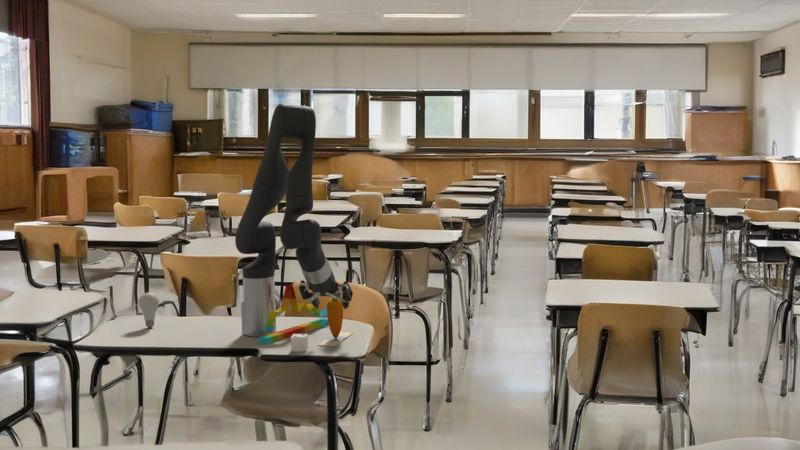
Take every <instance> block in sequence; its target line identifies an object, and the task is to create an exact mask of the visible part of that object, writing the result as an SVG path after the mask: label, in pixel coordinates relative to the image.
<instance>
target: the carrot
mask: <svg viewBox="0 0 800 450" xmlns="http://www.w3.org/2000/svg"><path fill="white" fill-rule="evenodd" d="M336 292H337V291H336ZM336 292H335V295H336ZM331 298H332V299H329V300H327V301H326V309H327V315H326V317H327V319H328V323H329V325H328V326H329V330H330V332H331V336H332V335H333V337H334V338H335V339H336V338H337V337H338V336H339V333H340V332H342V331H341V329H342V327H343V320H344V319H343V318H344V307H343V304H342V301H340V300H339V299H337V300H336V299H334V298H333V297H331Z"/></svg>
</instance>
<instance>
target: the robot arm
mask: <svg viewBox="0 0 800 450" xmlns="http://www.w3.org/2000/svg"><path fill="white" fill-rule="evenodd" d="M316 128H317V120H316V113H315V111H314V109H313V108H312V107H310V106H308V105H307V106H305V105H301V104H299V105H298V104H293V103H279V104H278V105H277V106H276V107H275V108H274V110H273V113H272V116H271V120H270V126H269V128H268V135H267V138H266V144H265V148H264V151H263V155H262V158H261V160H260V164H259V166H258V169H257V172H256V176H255V178H254V182H253V186H252V189H251V193H250V196H249V199H248V202H247V205H246V208H245V210H244V212H243V214H242V216H241V218H240V221H239V223H238V225H237V228H236V231H235V237H234V242H235V247H236V250H237V251H238V252H239V253H241V254H243V255H253V254H257V257H256V258H255V259H254V260H253V261H252V262H250V263H248V264H246V265H245V266H244V267H243V268H242V288H243V289H242V291H243V302H241V304H240V311H241V313H240V316H241V335H242V336H244V335H245V336H248V337H257V338H258V337H261V336H265V335H268V334H272V333H275V332H277V319H275V322H274V325H273V329H272V331H267V332H265V331H259V329H265V326H266V323H267V319H268V316H269V313H270V311H276V289H275V287H276V286H275V285H276V284H275V270H276V269H275V268H276V253H277V252H276V248H277V247H276V246H277V242H276V241H277V239H276V238H277V237H276V235H277V234H276V230H275V227H274V225H273V223H272V222H270V221H263V219H264V218H265V217H266V216H267V215H268V214H270V213H271V211H272V210H274V209H275V208H276V207H277V206H278V205H279V204H280V203H281V202H282V200H283V199H284V197H285V210H284V214H283V219H282V222H281V227H280V232H279V238H280V242H281V244H282V246H283V247H284V248H285V249H288V250H295V249H296V250H295V256H296V259H297V262H298V264H299V266H300V268H301V269H300V270H301V272H302V275H303V278H304V279H305V280H300V283H299V287H298V291H299V293H300V295H301V298H302V300H309V301H310V302H311V304H313V306H315V308H317V309H319V307H320V300H319V296H320V297H330V298H332V297H333V298H334V299H336V300H337V299H339V300H340V301H342V304H343V310H344V309H345V310H347V309H348V308H349V306H350V302H352V299H353V296H354V292H353V290H352V288H351V286H350V284H349V282H348V281H343V283H338V282H337V281H336V277H335V275H334V273H333V269H332V267H331V265H330V263H329V260H328V258H327V257H326V256H325V253H324V250H323V247H322V228H321V225H320V223H319V222H318V221H316V220H315V219H313V218H312V219H303V220H302V219H300V220H298V219H299V218H300V217H301V216H303V215H306V214H309V213H311V211H312V210H313V208H314V198H313V196H314V195H313V194H314V193H313V167H314V166H313V165H314V158H315V157H314V156H315V155H314V154H315V146H316V145H315V143H316V131H317V129H316ZM284 139H286V140H297V141H300V142H301V146H300V147H301V148H300V151H299V154H298V156H297V159H296V160H295V162H294V163H293V165H292V167H290V168H289V165H288V163H287V161H286V159H285V157H284V154H283V151H282V143H283V141H284ZM309 291H311V292H309ZM335 292H336V295H335ZM333 298H332V299H333Z"/></svg>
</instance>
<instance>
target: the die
mask: <svg viewBox="0 0 800 450" xmlns="http://www.w3.org/2000/svg"><path fill="white" fill-rule="evenodd" d="M308 348H309V334H308V333H301V334H293V335H292V336H291V337H290V349H291V350H290V351H291V352H307V350H308Z"/></svg>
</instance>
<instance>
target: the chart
mask: <svg viewBox="0 0 800 450" xmlns="http://www.w3.org/2000/svg"><path fill="white" fill-rule="evenodd" d="M295 293H296V292H295V289H294V285H288V284H286V285H285V289H284V292H283V298H282V302H281V306H280V307H278V308H277V309H275V311H270V313H269V316H268V319H267V323H266V326H265V329H259V331H265V332H267V331H272V329H273V325H274V322H275V319H276V318H277V314H283V313H284V312H286V311H287V310H289V306H290V308H291V312H292V313H300V312H301V311H302V312H311V313H312V315H313V317H319V319H315V320H312V321H308V322H306V323H302V324H298V325H296V326H292V327H288V328H284V329H282V330H280V331H276V332H275V333H272V334H268V335H265V336H259V337H257V341H258V342H257V344H260V345H269V344H272V343H275V342H279V341H282V340H284V339H287V338H291V336H292V335H293V334H305V333H306V332H309V331H313V330H316V329H319V328H323V327H325V326H329V323H328V317H327V308H326V309H325V308H323V309H322V310H321V311H319V310H318V308H315V306H313V304H312V303H307V304H306V303H305V302H298V301H297V296H296V294H295ZM320 317H323V318H320ZM276 320H277V319H276Z"/></svg>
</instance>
